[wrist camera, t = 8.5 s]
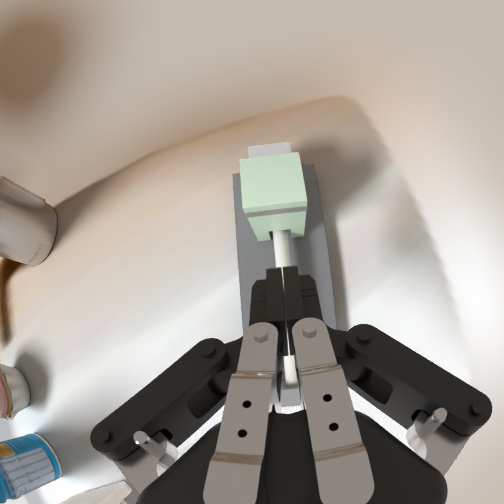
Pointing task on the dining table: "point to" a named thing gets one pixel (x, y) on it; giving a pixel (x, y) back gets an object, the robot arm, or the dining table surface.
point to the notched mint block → (274, 194)
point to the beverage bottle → (26, 466)
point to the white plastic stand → (102, 495)
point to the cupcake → (12, 392)
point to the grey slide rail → (285, 257)
